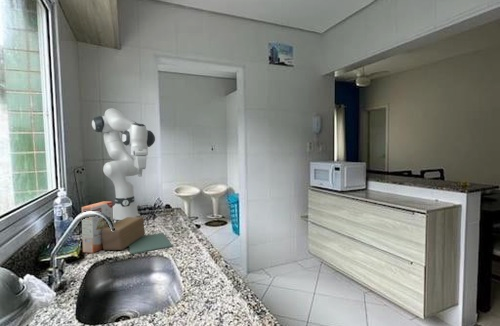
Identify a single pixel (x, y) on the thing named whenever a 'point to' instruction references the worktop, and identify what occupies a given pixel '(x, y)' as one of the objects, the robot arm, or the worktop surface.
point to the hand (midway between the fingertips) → (140, 176)
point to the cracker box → (95, 226)
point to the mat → (149, 243)
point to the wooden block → (123, 233)
